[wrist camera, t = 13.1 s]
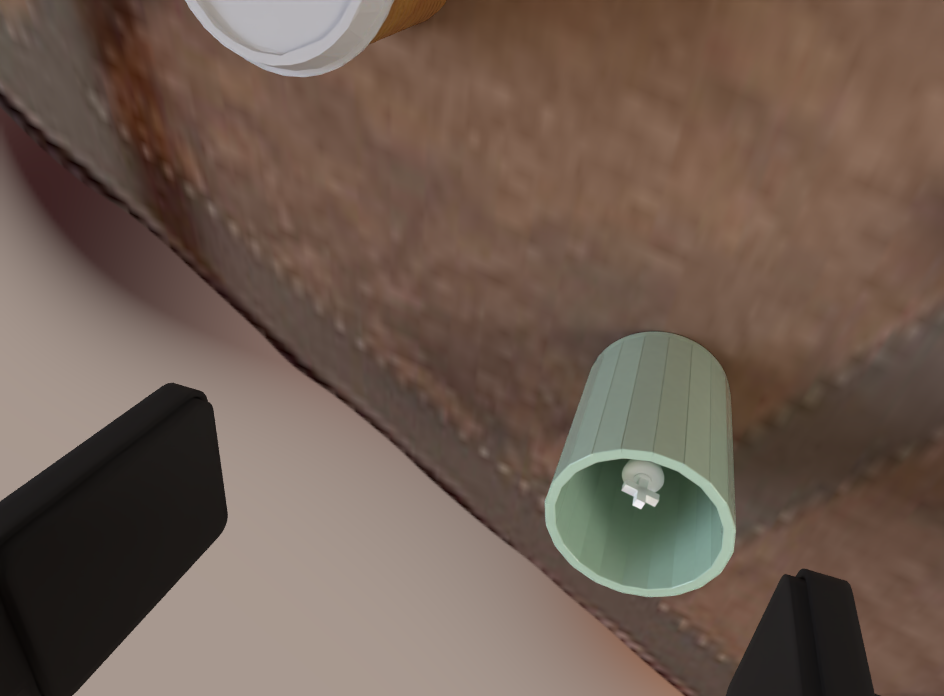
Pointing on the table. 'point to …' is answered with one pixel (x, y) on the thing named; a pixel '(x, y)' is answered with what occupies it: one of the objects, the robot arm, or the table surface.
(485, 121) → the table surface
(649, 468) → the chess piece
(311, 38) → the disposable coffee cup
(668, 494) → the tube
